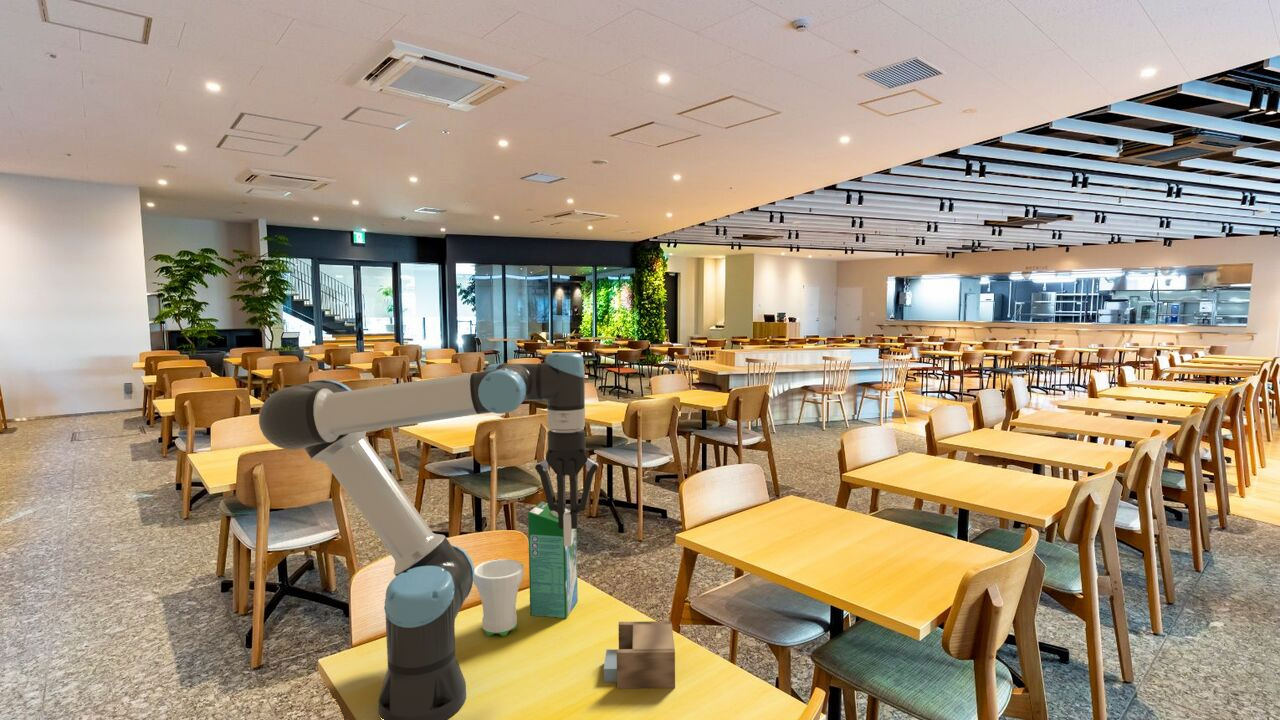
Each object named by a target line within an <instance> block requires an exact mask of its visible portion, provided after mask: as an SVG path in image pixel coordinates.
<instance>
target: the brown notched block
mask: <svg viewBox="0 0 1280 720" xmlns="http://www.w3.org/2000/svg"><path fill="white" fill-rule="evenodd" d="M674 641H675V639H674V631H673V622H672V621H671V620H670V621H668V620H667V621H666V620H665V621H663V620H662V621H658V620H657V621H655V620H654V621H618V649H616V650H617V682H616V688H617V689H674V688H675V689H676V651H675V642H674Z"/></svg>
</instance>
